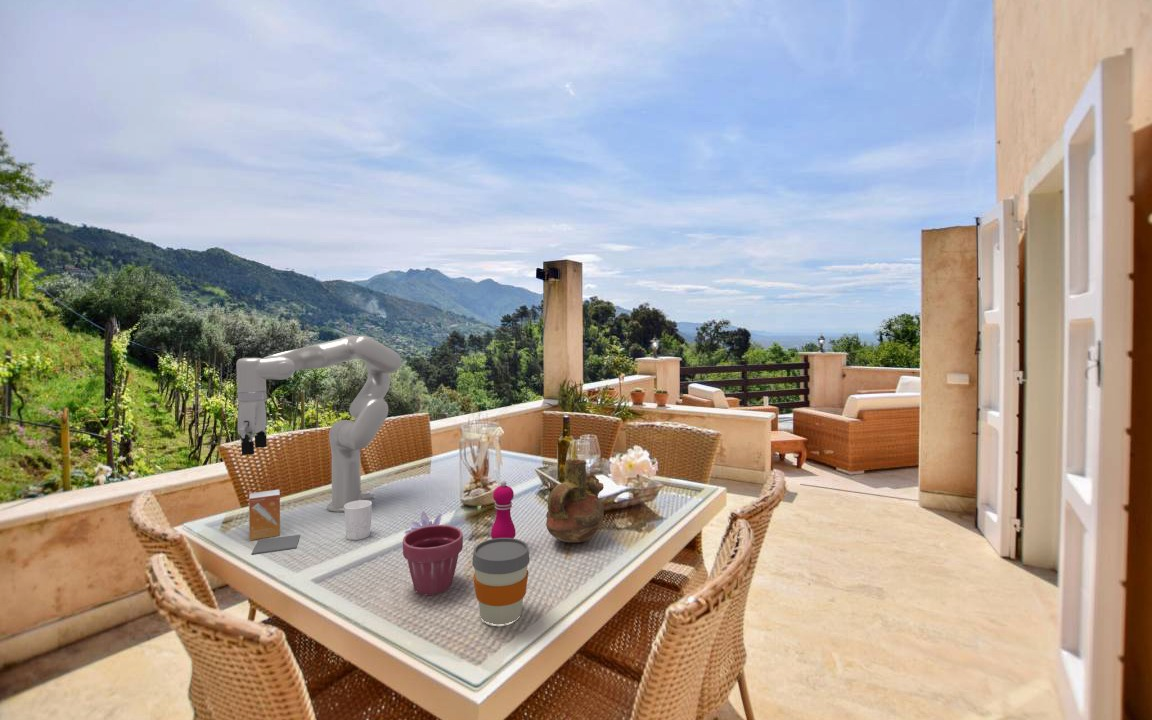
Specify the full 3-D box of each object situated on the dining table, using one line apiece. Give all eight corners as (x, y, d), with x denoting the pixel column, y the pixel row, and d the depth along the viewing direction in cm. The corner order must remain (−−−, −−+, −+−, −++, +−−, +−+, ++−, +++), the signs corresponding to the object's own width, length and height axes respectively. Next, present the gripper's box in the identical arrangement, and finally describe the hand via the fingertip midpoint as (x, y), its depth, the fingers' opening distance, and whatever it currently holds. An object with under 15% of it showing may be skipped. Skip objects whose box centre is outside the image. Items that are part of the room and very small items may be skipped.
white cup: (377, 533, 152) (377, 502, 152) (356, 543, 145) (356, 510, 145) (359, 529, 156) (359, 498, 155) (338, 538, 149) (338, 506, 148)
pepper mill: (519, 545, 145) (520, 478, 144) (508, 554, 138) (508, 485, 137) (498, 541, 147) (498, 476, 147) (486, 551, 140) (486, 482, 140)
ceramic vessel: (621, 531, 156) (622, 454, 155) (575, 560, 135) (576, 471, 134) (578, 520, 166) (579, 447, 165) (528, 545, 145) (529, 462, 144)
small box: (249, 541, 146) (248, 498, 145) (249, 534, 151) (248, 492, 151) (280, 535, 150) (280, 494, 150) (279, 528, 155) (279, 488, 155)
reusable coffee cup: (488, 596, 115) (488, 534, 115) (537, 605, 112) (538, 541, 111) (461, 625, 103) (461, 556, 103) (515, 636, 100) (515, 565, 99)
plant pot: (423, 608, 110) (423, 552, 110) (391, 587, 119) (391, 536, 119) (474, 584, 121) (474, 534, 120) (441, 567, 130) (441, 520, 130)
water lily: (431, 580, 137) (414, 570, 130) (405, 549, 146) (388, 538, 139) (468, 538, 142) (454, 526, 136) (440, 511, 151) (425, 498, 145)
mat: (300, 535, 150) (300, 534, 150) (296, 548, 141) (296, 547, 141) (258, 541, 146) (258, 540, 146) (251, 554, 136) (251, 553, 136)
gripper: (250, 394, 160) (252, 445, 161) (225, 401, 143) (228, 458, 144) (276, 393, 162) (278, 444, 163) (254, 400, 145) (256, 456, 146)
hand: (254, 450), depth 153 cm, fingers open, 9 cm apart
